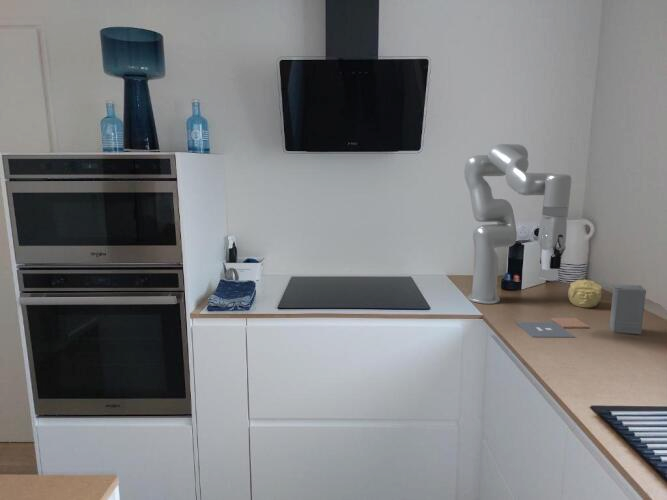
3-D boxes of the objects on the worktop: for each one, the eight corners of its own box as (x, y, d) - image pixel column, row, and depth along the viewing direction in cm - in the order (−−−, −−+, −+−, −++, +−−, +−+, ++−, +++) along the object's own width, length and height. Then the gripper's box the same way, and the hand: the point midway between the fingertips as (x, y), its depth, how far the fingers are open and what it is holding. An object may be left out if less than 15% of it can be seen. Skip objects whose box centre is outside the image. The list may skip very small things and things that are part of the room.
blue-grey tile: (515, 322, 161) (515, 322, 161) (554, 322, 161) (554, 322, 161) (532, 337, 147) (532, 336, 147) (575, 337, 147) (575, 336, 147)
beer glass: (562, 281, 147) (567, 236, 144) (539, 280, 148) (544, 235, 145) (556, 276, 153) (561, 233, 150) (534, 275, 155) (539, 232, 152)
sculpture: (568, 307, 178) (571, 281, 176) (565, 299, 189) (568, 274, 187) (601, 311, 174) (604, 284, 172) (596, 303, 185) (599, 277, 183)
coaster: (550, 319, 164) (551, 317, 164) (575, 319, 164) (575, 318, 164) (563, 328, 155) (563, 326, 155) (589, 328, 155) (589, 326, 155)
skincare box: (635, 329, 155) (641, 284, 152) (641, 336, 148) (648, 289, 146) (607, 326, 158) (612, 282, 155) (612, 333, 151) (618, 287, 148)
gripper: (531, 209, 155) (527, 260, 158) (556, 215, 138) (550, 272, 141) (553, 209, 155) (548, 260, 159) (581, 215, 138) (574, 272, 142)
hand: (549, 265), depth 150 cm, fingers closed on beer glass, 6 cm apart
